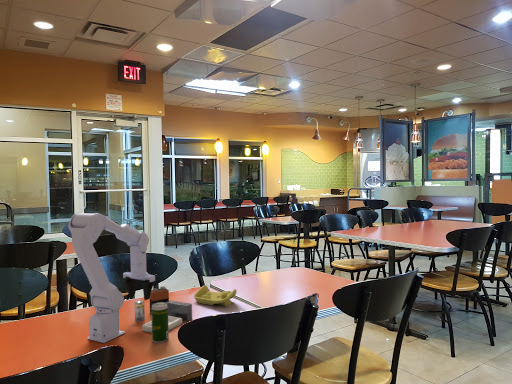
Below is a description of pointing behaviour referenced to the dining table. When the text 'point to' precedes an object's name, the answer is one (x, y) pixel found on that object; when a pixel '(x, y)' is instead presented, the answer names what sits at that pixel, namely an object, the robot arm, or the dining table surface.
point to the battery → (159, 296)
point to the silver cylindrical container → (139, 310)
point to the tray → (172, 324)
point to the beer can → (160, 322)
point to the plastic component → (213, 296)
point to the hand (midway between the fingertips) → (139, 298)
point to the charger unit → (180, 310)
